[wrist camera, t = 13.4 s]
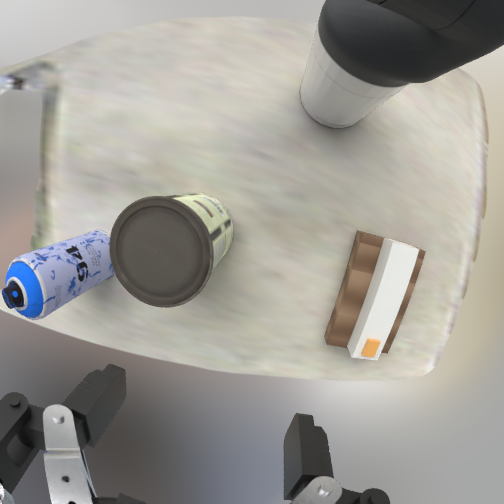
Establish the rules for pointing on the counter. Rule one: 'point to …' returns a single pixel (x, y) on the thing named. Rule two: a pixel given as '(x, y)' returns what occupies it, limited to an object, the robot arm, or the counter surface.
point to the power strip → (383, 299)
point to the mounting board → (363, 291)
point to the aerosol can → (57, 274)
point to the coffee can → (169, 246)
